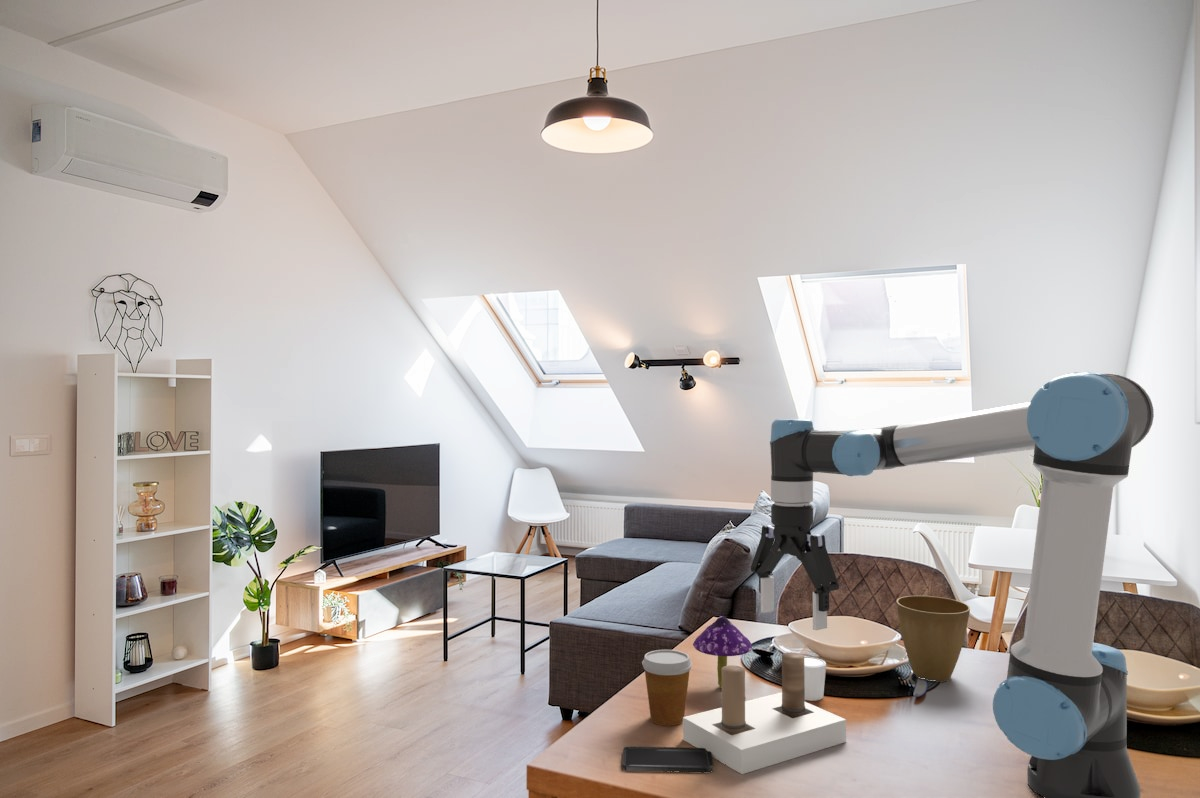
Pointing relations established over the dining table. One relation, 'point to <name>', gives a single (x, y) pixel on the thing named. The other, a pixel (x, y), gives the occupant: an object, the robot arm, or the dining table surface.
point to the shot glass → (814, 678)
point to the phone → (667, 759)
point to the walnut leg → (793, 685)
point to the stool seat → (759, 728)
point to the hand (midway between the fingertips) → (792, 620)
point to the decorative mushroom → (722, 642)
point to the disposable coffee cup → (667, 685)
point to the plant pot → (932, 634)
